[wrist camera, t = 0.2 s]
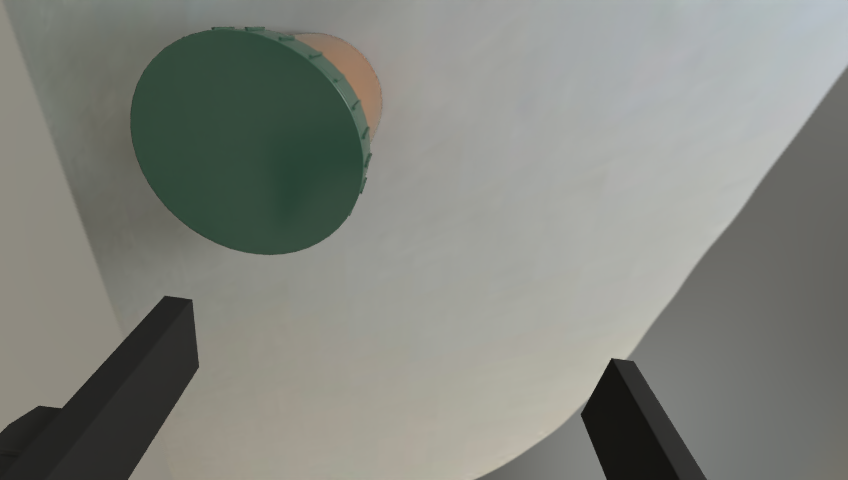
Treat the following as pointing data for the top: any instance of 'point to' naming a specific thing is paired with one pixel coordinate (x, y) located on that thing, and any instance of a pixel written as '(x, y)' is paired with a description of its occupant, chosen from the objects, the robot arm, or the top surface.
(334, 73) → the jar lid
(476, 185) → the top surface
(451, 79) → the top surface
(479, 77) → the top surface
